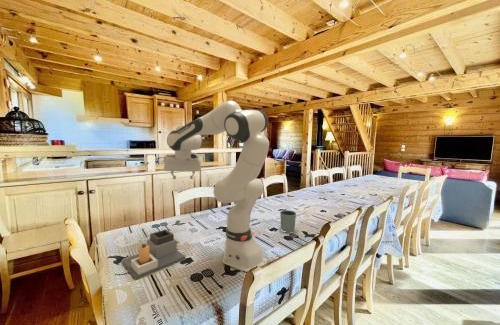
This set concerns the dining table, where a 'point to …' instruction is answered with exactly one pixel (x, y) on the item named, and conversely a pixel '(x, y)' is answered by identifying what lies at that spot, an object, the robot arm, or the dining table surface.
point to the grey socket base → (155, 255)
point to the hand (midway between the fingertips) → (183, 178)
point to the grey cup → (288, 220)
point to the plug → (143, 254)
